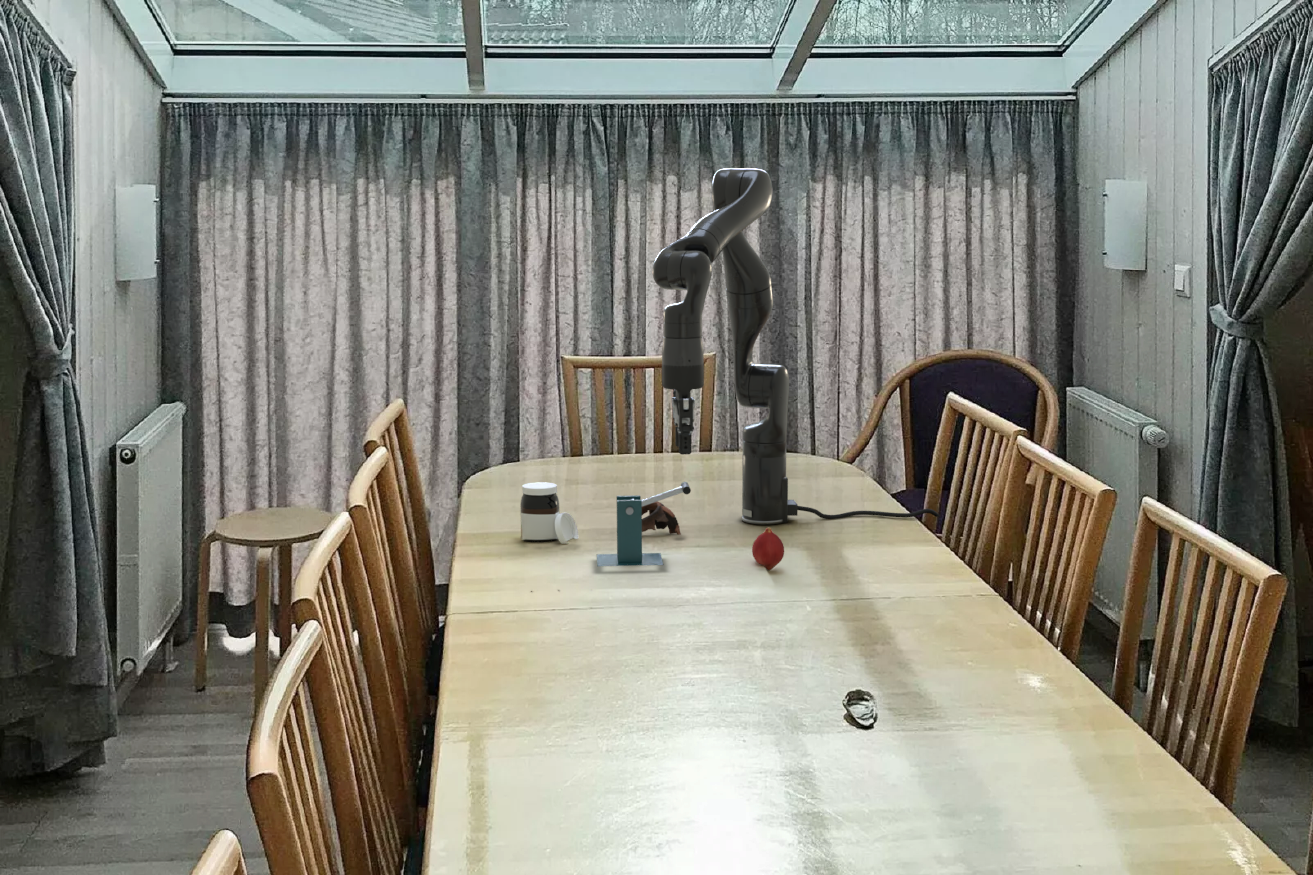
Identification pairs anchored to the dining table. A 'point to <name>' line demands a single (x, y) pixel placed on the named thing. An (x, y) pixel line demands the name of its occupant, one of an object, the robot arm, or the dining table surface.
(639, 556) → the bracket
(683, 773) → the dining table surface
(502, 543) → the dining table surface
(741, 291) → the robot arm
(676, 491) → the lever
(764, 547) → the onion
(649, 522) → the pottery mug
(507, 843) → the dining table surface
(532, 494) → the spread jar
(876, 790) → the dining table surface
